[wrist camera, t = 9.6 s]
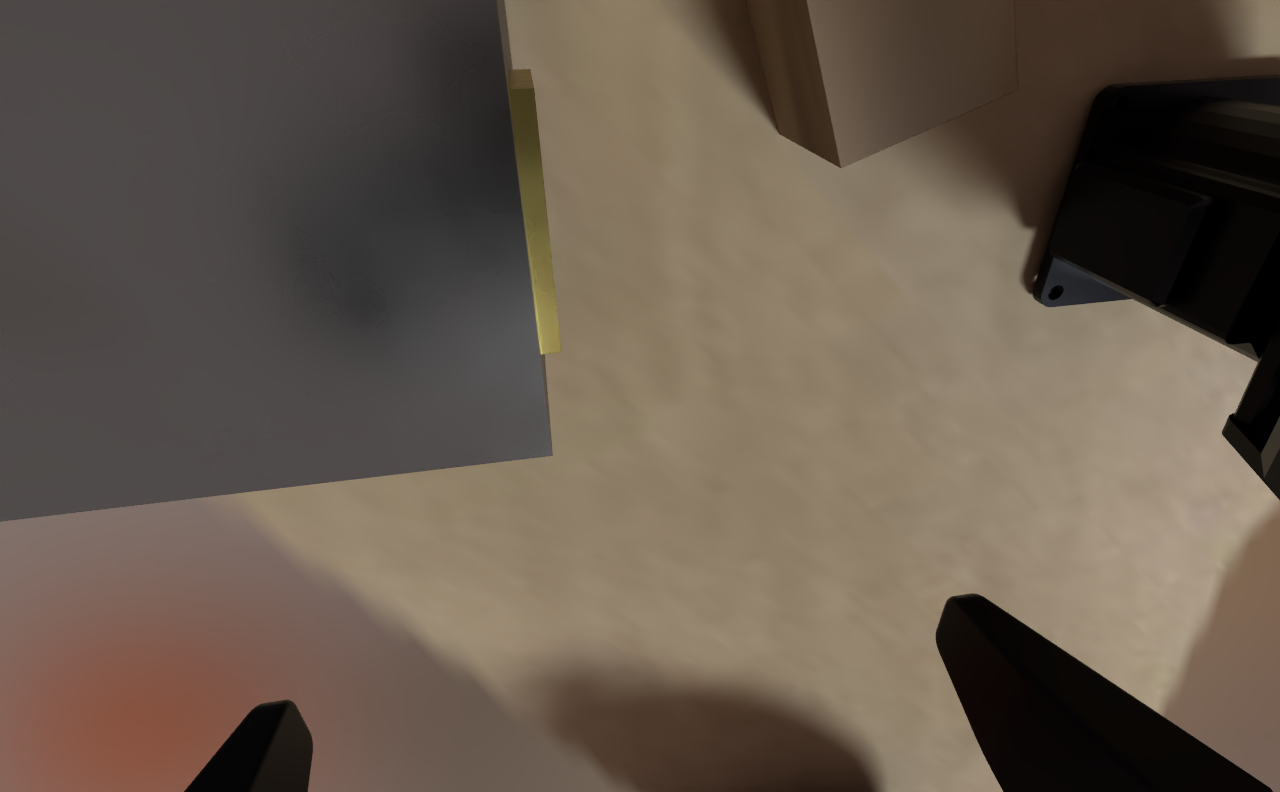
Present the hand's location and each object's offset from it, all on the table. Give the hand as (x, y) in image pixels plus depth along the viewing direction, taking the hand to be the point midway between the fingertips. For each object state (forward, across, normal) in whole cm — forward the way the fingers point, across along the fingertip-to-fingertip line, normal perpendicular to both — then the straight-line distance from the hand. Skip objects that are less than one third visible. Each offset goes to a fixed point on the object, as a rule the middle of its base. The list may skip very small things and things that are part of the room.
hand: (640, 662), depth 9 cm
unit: (+12, +6, -4) cm, 14 cm away
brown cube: (+12, -7, -7) cm, 16 cm away
